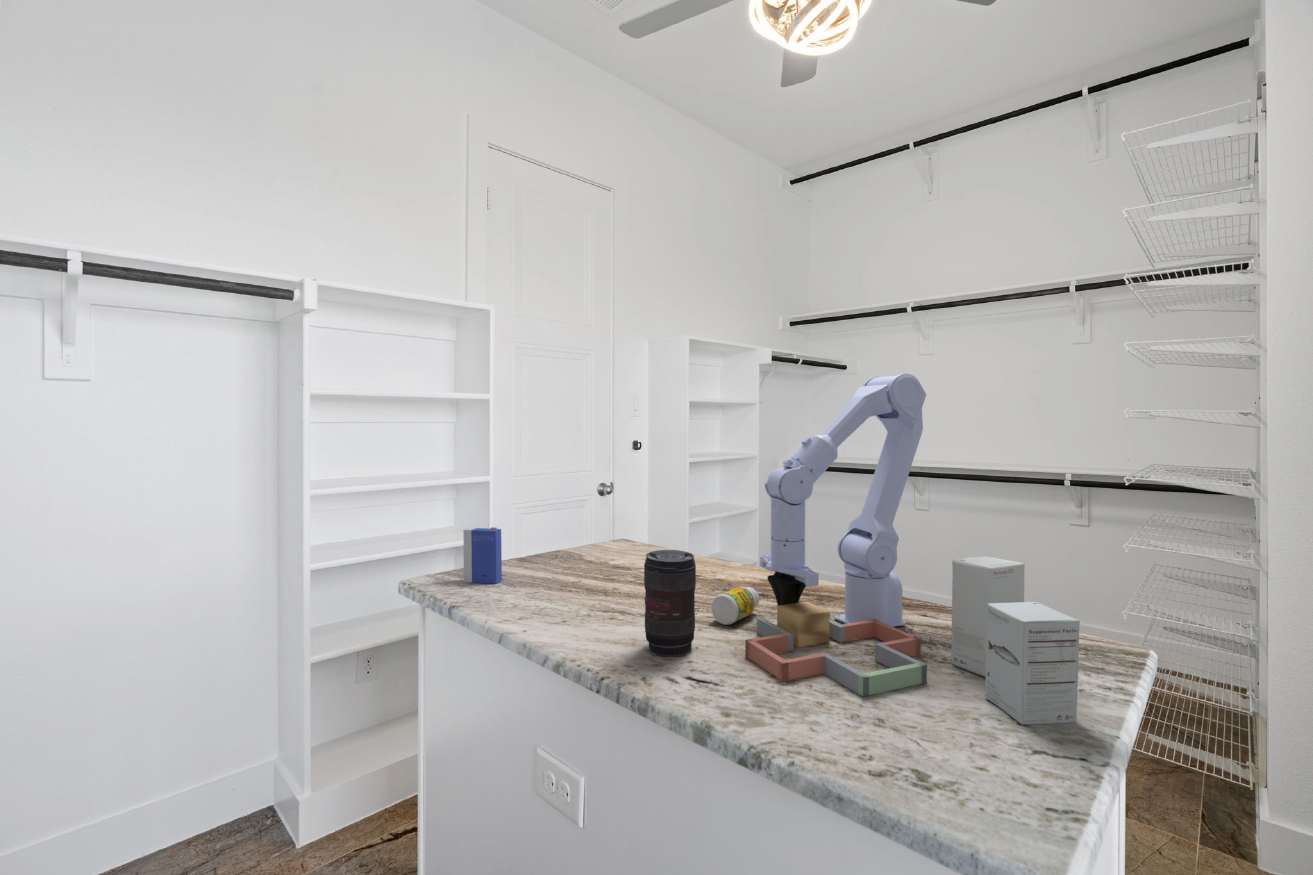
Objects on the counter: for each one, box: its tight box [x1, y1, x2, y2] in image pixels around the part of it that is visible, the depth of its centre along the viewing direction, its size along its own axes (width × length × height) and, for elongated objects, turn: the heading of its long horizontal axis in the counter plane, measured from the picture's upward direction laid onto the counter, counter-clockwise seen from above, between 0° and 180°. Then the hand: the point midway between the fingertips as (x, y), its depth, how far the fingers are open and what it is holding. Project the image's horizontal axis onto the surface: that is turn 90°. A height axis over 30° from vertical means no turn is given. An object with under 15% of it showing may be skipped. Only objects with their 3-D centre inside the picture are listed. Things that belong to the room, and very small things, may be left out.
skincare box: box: [950, 555, 1025, 678], centre depth 92 cm, size 8×7×16 cm
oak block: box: [776, 601, 831, 648], centre depth 103 cm, size 6×6×5 cm
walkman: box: [462, 526, 503, 585], centre depth 139 cm, size 8×3×12 cm, turn 78°
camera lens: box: [643, 549, 697, 657], centre depth 98 cm, size 8×8×15 cm
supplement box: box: [984, 601, 1081, 726], centre depth 78 cm, size 7×7×13 cm
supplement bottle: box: [710, 586, 760, 626], centre depth 114 cm, size 5×5×10 cm
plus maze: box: [744, 617, 928, 697], centre depth 96 cm, size 25×26×2 cm
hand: (787, 617), depth 107 cm, fingers closed
